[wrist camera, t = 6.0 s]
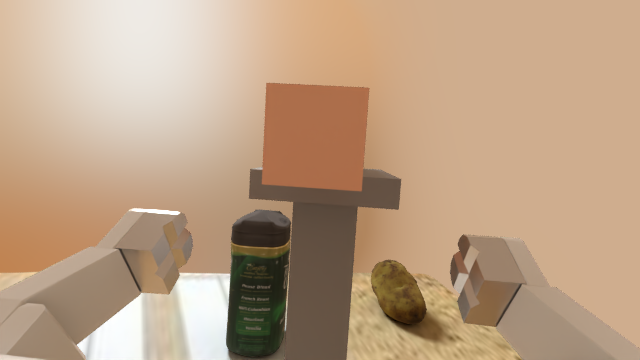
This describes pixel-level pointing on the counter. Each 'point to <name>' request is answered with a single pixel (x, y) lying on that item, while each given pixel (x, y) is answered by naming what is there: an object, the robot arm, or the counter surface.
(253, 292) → the coffee jar
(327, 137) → the block
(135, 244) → the robot arm
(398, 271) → the potato
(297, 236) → the stand
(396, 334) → the counter surface
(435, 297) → the counter surface
